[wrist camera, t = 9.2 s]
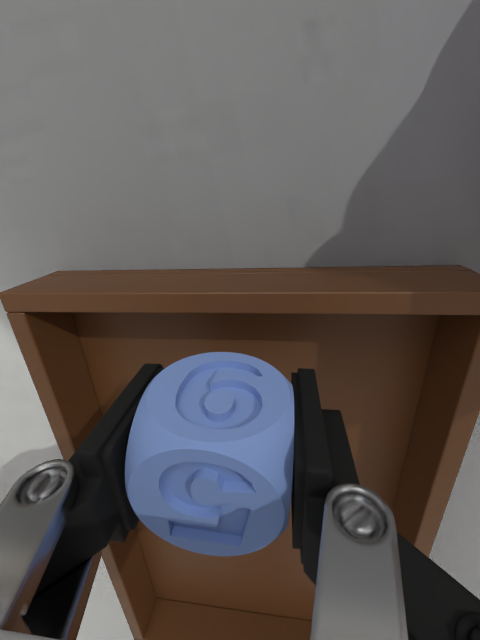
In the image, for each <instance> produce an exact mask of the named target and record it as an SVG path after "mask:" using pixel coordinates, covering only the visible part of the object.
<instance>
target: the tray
mask: <svg viewBox="0 0 480 640" xmlns="http://www.w3.org/2000/svg"><path fill="white" fill-rule="evenodd" d="M0 299H1V302H2V304H3V307H4V309H5V311H6V312H8V313H7V316H8V319H9V321H10V324H11V327H12V329H13V332H14V334H15V337H16V339H17V342H18V344H19V347H20V349H21V352H22V355H23V357H24V360H25V362H26V365H27V367H28V370H29V372H30V375H31V377H32V380H33V383H34V385H35V388H36V390H37V393H38V395H39V398H40V400H41V403H42V405H43V408H44V411H45V413H46V416H47V418H48V421H49V423H50V426H51V428H52V431H53V433H54V436H55V439H56V441H57V444H58V446H59V449H60V451H61V454H62V456H63V459H64V460H66V461H68V460H69V459H70V458H71V456H72V455H73V454H74V453H75V451H76V450H77V449H78V447H79V446H80V445H81V444H82V442H83V441H84V440H85V438H86V437H87V436H88V435H89V433H90V432H91V431H92V430H93V428H94V427H95V426H96V424H97V423H98V422H99V421H100V419H101V418H102V417H103V416H104V414H105V413H106V412H107V410H108V409H109V408H110V407H111V405H112V404H113V403H114V402H115V400H116V399H117V398H118V397H119V395H120V394H121V393H122V391H123V390H124V389H125V388H126V386H127V385H128V384H129V383H130V381H131V380H132V379H133V377H134V376H135V375H136V374H137V372H138V371H139V370H140V369H141V367H142V366H143V365H144V364H146V363H148V364H161V365H162V366H163V368H166V367H168V366H169V365H171V364H173V363H175V362H177V361H179V360H181V359H184V358H187V357H190V356H193V355H197V354H203V353H210V352H233V353H240V354H245V355H249V356H252V357H255V358H258V359H261V360H263V361H265V362H267V363H268V364H270V365H272V366H273V367H274V368H276V369H277V370H278V371H279V372H280V373H282V374H283V375H284V376H285V377H286V378H287V379H288V381H289V382H290V383H291V373H292V372H295V373H297V372H298V368H304V369H315V375H316V380H317V386H318V392H319V398H320V404H321V409H330V410H340V411H341V414H342V418H343V421H344V425H345V429H346V433H347V437H348V441H349V445H350V449H351V452H352V456H353V460H354V464H355V468H356V472H357V476H358V480H359V483H360V485H361V486H364V487H366V488H369V489H370V490H372V491H373V492H375V493H376V494H378V495H379V496H380V497H381V498H382V499H383V500H384V501H385V502H386V503H387V505H388V506H389V508H390V510H391V511H392V513H393V516H394V520H395V523H396V531H397V532H398V533H399V534H400V535H402V536H403V537H404V538H405V539H406V540H408V541H409V542H410V543H411V544H412V545H414V546H415V547H416V548H417V549H419V550H420V551H421V552H422V553H423V554H425V555H426V556H427V557H429V554H430V552H431V549H432V546H433V543H434V540H435V537H436V534H437V532H438V529H439V526H440V523H441V520H442V517H443V514H444V512H445V509H446V506H447V503H448V500H449V497H450V494H451V492H452V489H453V486H454V483H455V480H456V477H457V475H458V472H459V469H460V466H461V463H462V460H463V457H464V455H465V452H466V449H467V446H468V443H469V440H470V437H471V435H472V432H473V429H474V426H475V423H476V420H477V417H478V415H479V412H480V274H479V273H477V272H474V271H472V270H470V269H468V268H466V267H463V266H461V265H455V266H384V267H314V268H243V269H173V270H102V271H57V272H54V273H51V274H49V275H47V276H44V277H41V278H38V279H35V280H33V281H30V282H27V283H25V284H22V285H19V286H16V287H14V288H11V289H8V290H6V291H3V292H0ZM101 556H102V558H103V561H104V563H105V566H106V568H107V571H108V573H109V576H110V579H111V581H112V584H113V586H114V589H115V591H116V594H117V596H118V599H119V601H120V604H121V607H122V609H123V612H124V614H125V617H126V619H127V622H128V624H129V627H130V629H131V632H132V635H133V637H134V640H310V635H311V626H312V617H313V607H314V598H315V589H316V586H315V585H314V583H313V582H312V581H311V580H310V579H309V577H308V576H307V575H306V574H305V573H304V569H303V564H301V555H300V549H293V547H292V512H291V505H290V514H289V521H288V526H287V529H286V530H285V531H284V532H283V533H282V534H280V535H279V536H278V537H277V538H276V539H275V540H274V541H272V542H271V543H270V544H269V545H267V546H265V547H264V548H262V549H260V550H257V551H255V552H252V553H248V554H244V555H238V556H212V555H205V554H200V553H195V552H192V551H188V550H185V549H183V548H180V547H178V546H175V545H173V544H171V543H169V542H167V541H165V540H164V539H162V538H160V537H159V536H157V535H156V534H155V533H153V532H152V531H151V530H150V529H148V528H147V527H146V526H145V525H144V524H143V523H142V522H141V520H139V522H138V524H137V526H136V528H135V529H134V530H130V531H129V533H128V536H127V538H126V540H125V542H117V541H109V543H108V545H107V547H105V548H104V549H102V555H101Z"/></svg>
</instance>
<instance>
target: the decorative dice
mask: <svg viewBox="0 0 480 640" xmlns="http://www.w3.org/2000/svg"><path fill="white" fill-rule="evenodd" d="M293 459H294V392H293V386H292V384H291V383H290V382H289V381H288V379H287V378H286V377H285V376H284V375H283V374H282V373H280V372H279V371H278V370H277V369H276V368H274V367H273V366H272V365H270V364H268V363H267V362H265V361H263V360H261V359H258V358H255V357H252V356H249V355H245V354H240V353H233V352H210V353H203V354H197V355H193V356H190V357H187V358H184V359H181V360H179V361H177V362H175V363H173V364H171V365H169V366H168V367H166V368H165V369H164V370H162V371H161V372H160V373H159V374H158V375H157V376H155V377H154V378H153V380H152V381H151V382H150V383H149V385H148V387H147V388H146V390H145V392H144V394H143V396H142V398H141V400H140V402H139V405H138V407H137V410H136V413H135V416H134V419H133V423H132V426H131V430H130V435H129V439H128V445H127V451H126V460H125V487H126V493H127V497H128V500H129V502H130V504H131V506H132V509H133V510H134V512H135V514H136V515H137V517H138V518H139V519H140V520H141V522H142V523H143V524H144V525H145V526H146V527H147V528H148V529H150V530H151V531H152V532H153V533H155V534H156V535H157V536H159V537H160V538H162V539H164V540H165V541H167V542H169V543H171V544H173V545H175V546H178V547H180V548H183V549H185V550H188V551H192V552H195V553H200V554H205V555H212V556H238V555H244V554H248V553H252V552H255V551H257V550H260V549H262V548H264V547H265V546H267V545H269V544H270V543H271V542H272V541H274V540H275V539H276V538H277V537H278V536H279V535H280V534H282V533H283V532H284V531H285V530H286V529H287V526H288V521H289V514H290V505H291V493H292V479H293Z"/></svg>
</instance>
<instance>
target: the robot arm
mask: <svg viewBox="0 0 480 640" xmlns="http://www.w3.org/2000/svg"><path fill="white" fill-rule="evenodd" d="M164 369H165V368H163V366H162V365H161V364H148V363H146V364H144V365H143V366H142V367H141V369H140V370H139V371H138V372H137V374H136V375H135V376H134V377H133V379H132V380H131V381H130V383H129V384H128V385H127V386H126V388H125V389H124V390H123V391H122V393H121V394H120V395H119V397H118V398H117V399H116V400H115V402H114V403H113V404H112V405H111V407H110V408H109V409H108V410H107V412H106V413H105V414H104V416H103V417H102V418H101V419H100V421H99V422H98V423H97V424H96V426H95V427H94V428H93V430H92V431H91V432H90V433H89V435H88V436H87V437H86V438H85V440H84V441H83V442H82V444H81V445H80V446H79V447H78V449H77V450H76V451H75V453H74V454H73V455H72V456H71V458H70V459H69V460H68V461H66V460H62V459H55V460H51V461H46V462H44V463H42V464H39V465H37V466H35V467H34V468H32V469H30V470H29V471H27V472H26V473H25V474H24V475H22V476H21V477H20V478H19V479H18V480H17V482H16V483H15V484H14V485H13V486H12V488H11V489H10V491H9V492H8V494H7V495H6V497H5V498H4V500H3V501H2V503H1V504H0V640H76V638H77V635H78V631H79V628H80V625H81V621H82V618H83V615H84V611H85V608H86V605H87V602H88V598H89V595H90V592H91V588H92V585H93V582H94V578H95V575H96V572H97V569H98V565H99V562H100V559H101V555H102V549H104V548H105V547H107V545H108V543H109V541H117V542H125V540H126V538H127V536H128V533H129V531H130V530H134V529H135V528H136V526H137V524H138V522H139V520H140V519H139V518H138V517H137V515H136V514H135V512H134V510H133V509H132V506H131V504H130V502H129V500H128V497H127V493H126V487H125V460H126V451H127V445H128V439H129V435H130V430H131V426H132V423H133V419H134V416H135V413H136V410H137V407H138V405H139V402H140V400H141V398H142V396H143V394H144V392H145V390H146V388H147V387H148V385H149V383H150V382H151V381H152V380H153V378H154V377H155V376H157V375H158V374H159V373H160V372H161V371H162V370H164ZM291 384H292V386H293V392H294V459H293V479H292V493H291V512H292V547H293V549H300V555H301V564H303V569H304V573H305V574H306V575H307V576H308V577H309V579H310V580H311V581H312V582H313V583H314V585H315V586H316V589H315V598H314V607H313V617H312V626H311V635H310V640H480V600H479V599H478V598H477V597H476V596H474V595H473V594H472V593H471V592H470V591H468V590H467V589H466V588H465V587H463V586H462V585H461V584H460V583H459V582H457V581H456V580H455V579H454V578H453V577H451V576H450V575H449V574H448V573H446V572H445V571H444V570H443V569H442V568H440V567H439V566H438V565H437V564H436V563H434V562H433V561H432V560H431V559H429V558H428V557H427V556H426V555H425V554H423V553H422V552H421V551H420V550H419V549H417V548H416V547H415V546H414V545H412V544H411V543H410V542H409V541H408V540H406V539H405V538H404V537H403V536H402V535H400V534H399V533H398V532H397V531H396V523H395V520H394V516H393V513H392V511H391V510H390V508H389V506H388V505H387V503H386V502H385V501H384V500H383V499H382V498H381V497H380V496H379V495H378V494H376V493H375V492H373V491H372V490H370V489H369V488H366V487H364V486H361V485H360V483H359V480H358V476H357V472H356V468H355V464H354V460H353V456H352V452H351V449H350V445H349V441H348V437H347V433H346V429H345V425H344V421H343V418H342V414H341V411H340V410H330V409H321V404H320V398H319V392H318V386H317V380H316V375H315V369H304V368H298V372H297V373H295V372H292V373H291Z"/></svg>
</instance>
